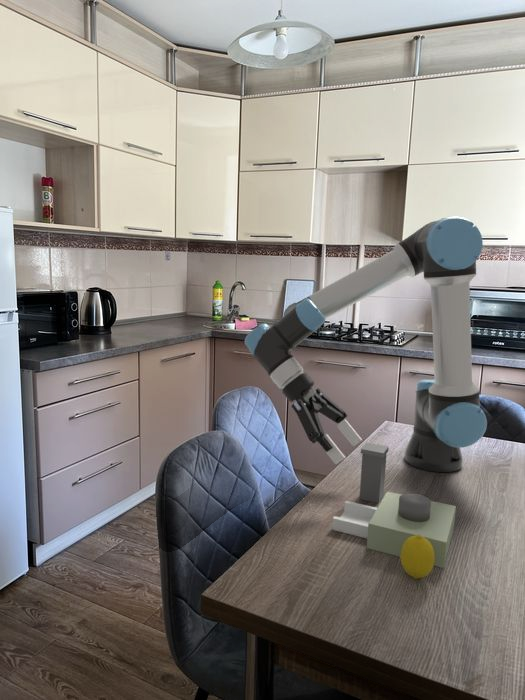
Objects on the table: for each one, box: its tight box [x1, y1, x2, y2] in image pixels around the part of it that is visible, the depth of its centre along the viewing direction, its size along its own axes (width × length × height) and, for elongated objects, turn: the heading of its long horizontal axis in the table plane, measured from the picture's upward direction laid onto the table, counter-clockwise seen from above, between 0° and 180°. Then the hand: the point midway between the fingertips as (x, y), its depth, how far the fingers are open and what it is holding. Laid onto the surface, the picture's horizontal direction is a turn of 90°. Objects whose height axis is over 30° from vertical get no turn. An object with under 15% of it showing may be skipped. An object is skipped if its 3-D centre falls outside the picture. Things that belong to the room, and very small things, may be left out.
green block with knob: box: [331, 491, 457, 569], centre depth 104 cm, size 22×16×8 cm
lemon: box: [400, 535, 435, 580], centre depth 89 cm, size 6×6×8 cm
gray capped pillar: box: [359, 442, 390, 504], centre depth 120 cm, size 5×5×12 cm
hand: (349, 451), depth 122 cm, fingers open, 13 cm apart
